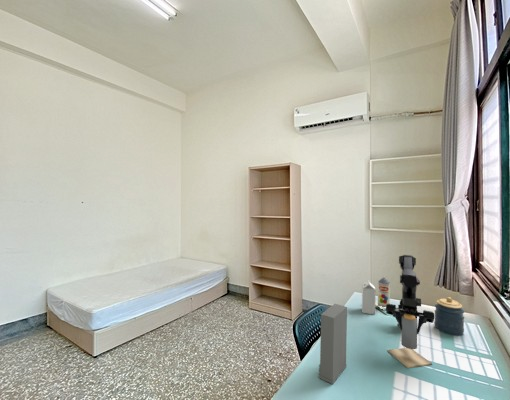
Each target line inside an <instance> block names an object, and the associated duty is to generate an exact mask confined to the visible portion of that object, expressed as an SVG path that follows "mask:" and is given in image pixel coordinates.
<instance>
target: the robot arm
mask: <svg viewBox="0 0 510 400" xmlns="http://www.w3.org/2000/svg"><path fill="white" fill-rule="evenodd" d="M398 264H399V268H400V269H401V274H399V283H400V284H401V285H402V287H401V299H400V300H399V304H397V306H396V304H393V303H390V304H387V305H386V310H385V311H386V314H387V315H390V316H392V317H393V318H395V320H396V322H397V327H399V330H400V331H402V316H403V315H404V314H411V315H414V316H415V318H416V319H417V320H418V324H417V335H419V334H420V331H421V329H422V326H423V325H424V324H426V323H431V324H434V321H435V312H433V311H431V310H430V311H429V310H426V309H424V310H422V311H423V312H420V311H418V307H422V298H418V297H417V289H418V286H419V285H421V283H420V282H421V281H420V280H419V278H418V277H417V273H416V272H415V271H414V270H415V269H414V268H415V266H416V265H417V258H416V257H414V256H413V255H410V254H403V255H400V256H398Z"/></svg>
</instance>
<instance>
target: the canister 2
mask: <svg viewBox="0 0 510 400" xmlns="http://www.w3.org/2000/svg"><path fill="white" fill-rule="evenodd" d="M434 307H435V310H434V317H435V318H434V322H433V325H434V328H435V329H436V330H437V331H439V332H442V333H444V334H447V335H451V336H462V335H464V332H465V326H464V325H465V324H464V323H465V316H464V313H465V309H464V308H463V305H462V304H461V303H460V302H458V301H457V300H454V299H452V297H450V296H448V297H446V298H440V299H437V300H436V303H434Z"/></svg>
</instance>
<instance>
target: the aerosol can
mask: <svg viewBox="0 0 510 400" xmlns="http://www.w3.org/2000/svg"><path fill="white" fill-rule="evenodd" d="M377 285H378V286H377V307H378V306H382V307H386V305H387V304H391V301H390V300H391V296H390V295H391V283H390V281H388V279H387V277H386V276H382V278H381V279H379V280H378V282H377Z"/></svg>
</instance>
